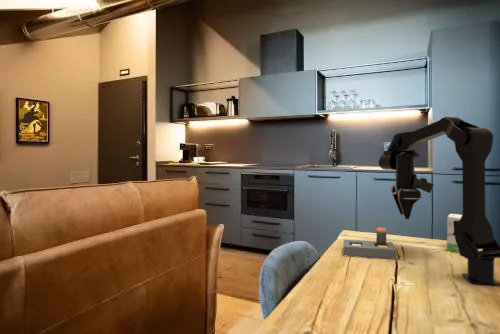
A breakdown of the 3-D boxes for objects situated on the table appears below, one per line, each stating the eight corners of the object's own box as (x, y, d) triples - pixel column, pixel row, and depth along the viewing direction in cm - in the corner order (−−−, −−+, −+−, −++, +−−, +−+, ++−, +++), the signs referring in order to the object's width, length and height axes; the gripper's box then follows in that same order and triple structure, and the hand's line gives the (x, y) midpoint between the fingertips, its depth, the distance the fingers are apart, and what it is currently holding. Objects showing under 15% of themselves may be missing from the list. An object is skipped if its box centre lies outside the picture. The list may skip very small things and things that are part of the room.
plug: (386, 254, 108) (386, 229, 108) (376, 253, 109) (377, 229, 109) (385, 251, 111) (385, 227, 111) (375, 251, 112) (376, 227, 112)
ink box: (463, 253, 111) (464, 218, 111) (446, 250, 114) (446, 216, 114) (465, 247, 118) (466, 214, 118) (449, 245, 121) (449, 213, 121)
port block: (396, 259, 104) (396, 248, 104) (343, 255, 109) (343, 245, 108) (391, 250, 114) (391, 240, 114) (343, 247, 118) (343, 238, 118)
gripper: (439, 171, 101) (439, 222, 102) (424, 169, 119) (424, 213, 120) (399, 171, 104) (399, 221, 104) (391, 169, 122) (390, 211, 122)
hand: (404, 216), depth 113 cm, fingers open, 9 cm apart
